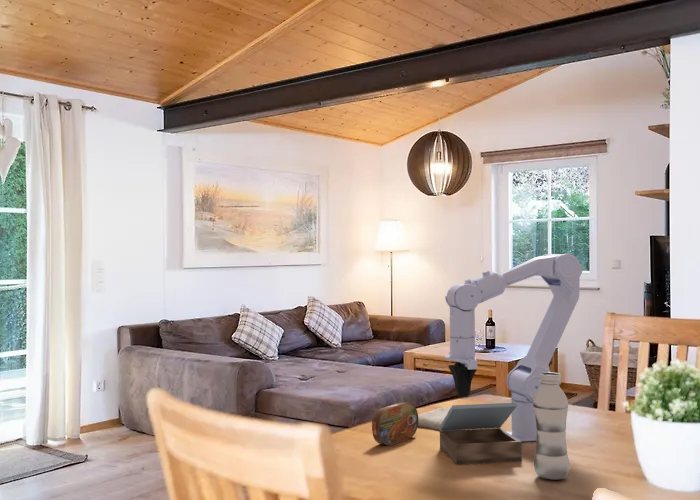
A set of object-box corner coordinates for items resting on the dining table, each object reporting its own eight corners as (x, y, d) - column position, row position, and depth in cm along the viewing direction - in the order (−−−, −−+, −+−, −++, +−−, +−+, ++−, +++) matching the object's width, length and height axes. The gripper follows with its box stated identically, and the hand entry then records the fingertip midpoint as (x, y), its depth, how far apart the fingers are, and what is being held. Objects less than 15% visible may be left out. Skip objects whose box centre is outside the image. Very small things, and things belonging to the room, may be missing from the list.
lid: (500, 427, 163) (499, 424, 164) (517, 406, 153) (516, 402, 154) (439, 430, 161) (438, 426, 161) (452, 408, 151) (452, 404, 152)
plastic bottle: (564, 485, 135) (563, 377, 135) (528, 480, 139) (528, 374, 139) (574, 476, 140) (573, 372, 141) (539, 471, 144) (538, 370, 144)
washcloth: (488, 421, 189) (488, 409, 189) (452, 434, 175) (452, 422, 175) (449, 415, 197) (449, 403, 197) (411, 427, 183) (411, 415, 183)
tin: (380, 449, 162) (380, 411, 162) (369, 446, 164) (369, 409, 164) (419, 435, 173) (419, 400, 173) (408, 433, 175) (408, 398, 175)
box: (500, 445, 163) (500, 428, 163) (521, 460, 151) (521, 441, 151) (439, 449, 161) (439, 431, 161) (456, 464, 149) (456, 445, 149)
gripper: (436, 334, 173) (436, 391, 173) (455, 341, 159) (455, 403, 159) (464, 333, 175) (465, 390, 174) (486, 340, 160) (486, 402, 160)
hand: (462, 396), depth 167 cm, fingers closed
